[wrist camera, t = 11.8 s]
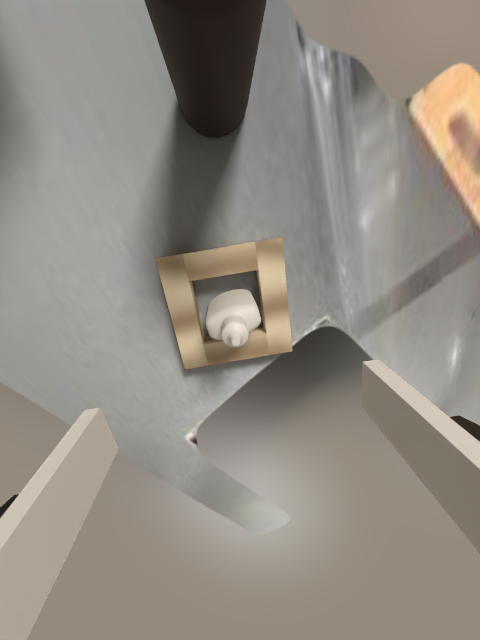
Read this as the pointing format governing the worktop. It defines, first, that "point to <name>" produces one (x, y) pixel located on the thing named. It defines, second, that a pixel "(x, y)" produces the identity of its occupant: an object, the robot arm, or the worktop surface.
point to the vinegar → (209, 57)
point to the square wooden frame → (222, 262)
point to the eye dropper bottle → (232, 317)
